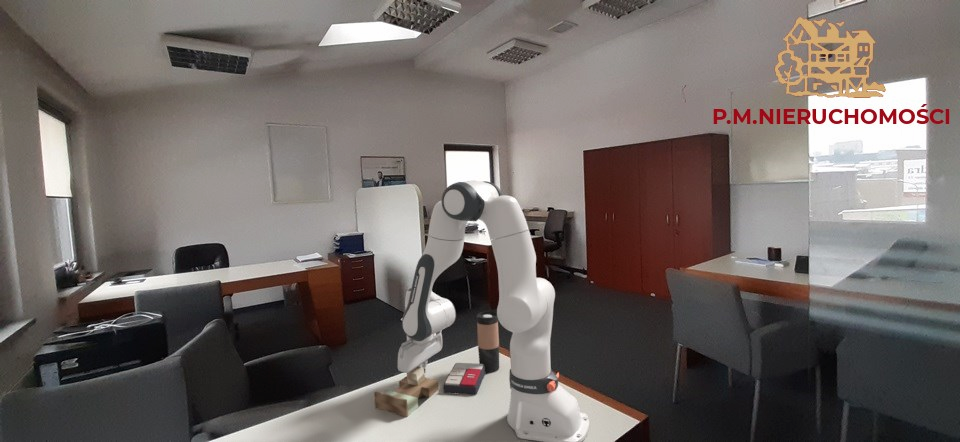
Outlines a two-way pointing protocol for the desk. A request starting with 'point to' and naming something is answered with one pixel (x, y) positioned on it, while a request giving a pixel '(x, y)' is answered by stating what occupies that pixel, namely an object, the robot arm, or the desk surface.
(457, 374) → the red and grey box
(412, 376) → the block
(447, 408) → the desk surface
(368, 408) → the desk surface
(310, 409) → the desk surface
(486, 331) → the travel mug
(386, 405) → the stacked wooden blocks
